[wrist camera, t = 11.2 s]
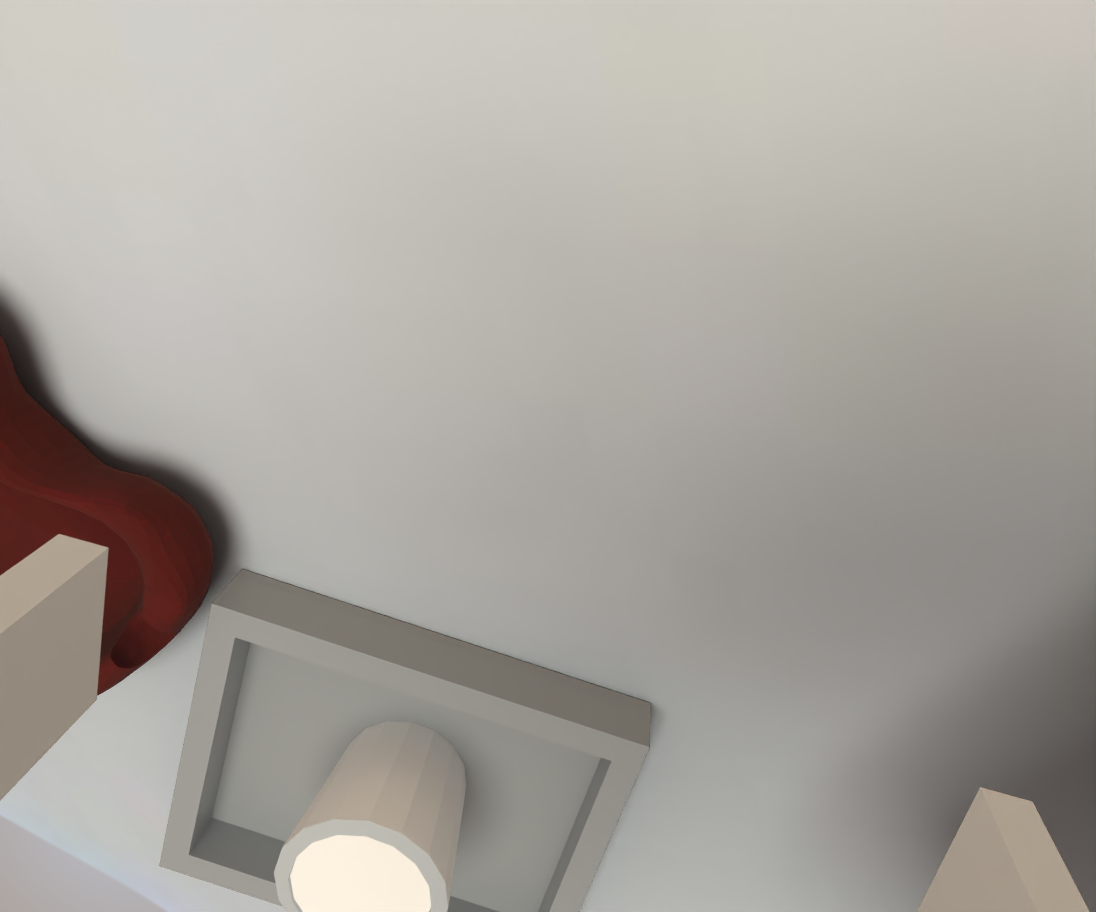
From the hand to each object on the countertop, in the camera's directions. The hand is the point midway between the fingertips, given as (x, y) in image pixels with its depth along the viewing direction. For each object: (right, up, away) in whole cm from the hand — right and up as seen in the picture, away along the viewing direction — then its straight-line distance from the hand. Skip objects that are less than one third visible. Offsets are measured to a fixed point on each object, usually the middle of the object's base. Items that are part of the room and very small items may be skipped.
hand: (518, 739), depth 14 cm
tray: (-6, -10, +30) cm, 32 cm away
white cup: (-6, -10, +29) cm, 31 cm away
